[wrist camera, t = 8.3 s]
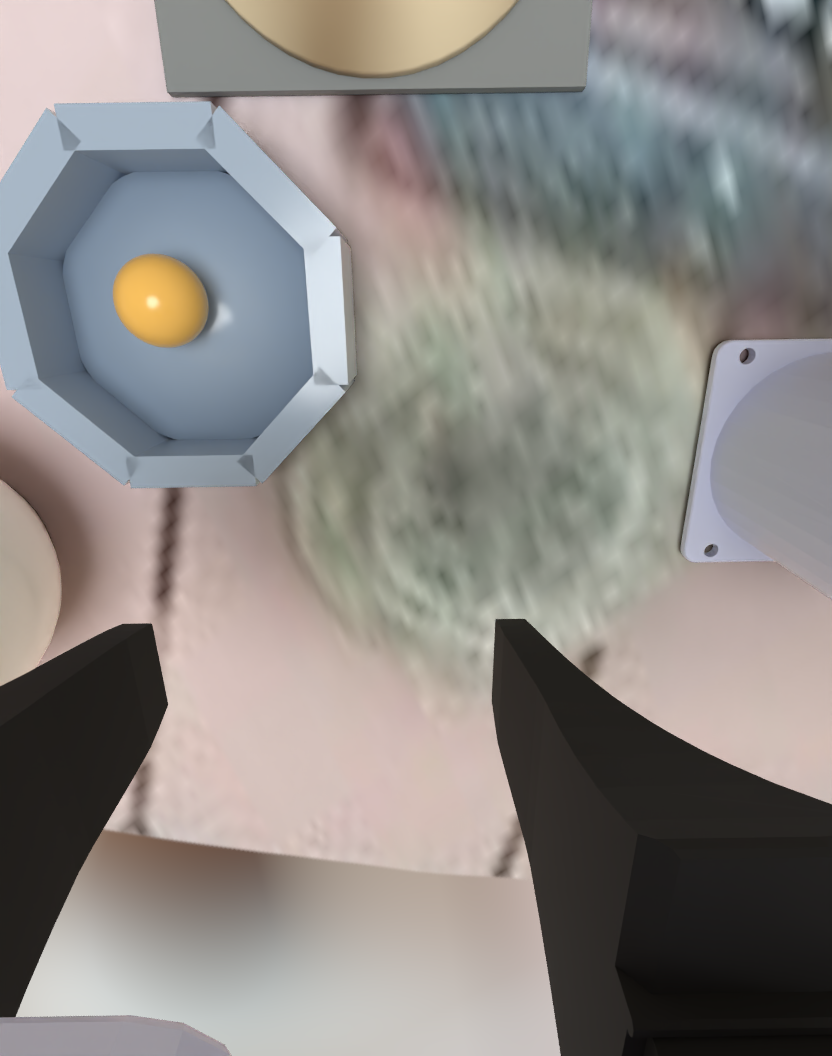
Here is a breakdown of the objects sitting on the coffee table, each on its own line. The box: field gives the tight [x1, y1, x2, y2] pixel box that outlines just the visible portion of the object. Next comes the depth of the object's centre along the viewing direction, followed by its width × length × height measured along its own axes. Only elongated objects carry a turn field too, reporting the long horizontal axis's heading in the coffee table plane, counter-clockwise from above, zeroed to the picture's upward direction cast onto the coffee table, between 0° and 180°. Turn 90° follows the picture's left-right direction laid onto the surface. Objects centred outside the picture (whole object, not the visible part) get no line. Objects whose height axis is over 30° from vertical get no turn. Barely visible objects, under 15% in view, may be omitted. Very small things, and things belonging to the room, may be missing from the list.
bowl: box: [0, 102, 357, 488], centre depth 17 cm, size 10×10×3 cm
